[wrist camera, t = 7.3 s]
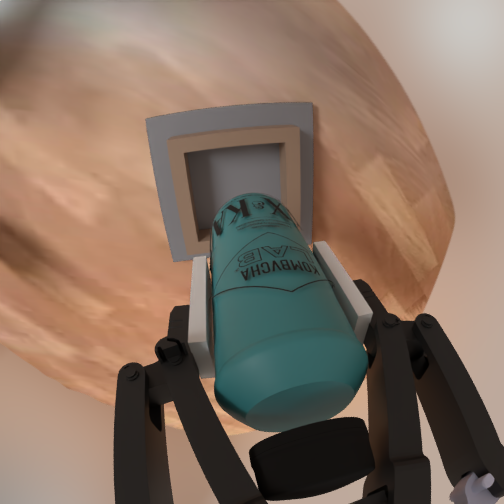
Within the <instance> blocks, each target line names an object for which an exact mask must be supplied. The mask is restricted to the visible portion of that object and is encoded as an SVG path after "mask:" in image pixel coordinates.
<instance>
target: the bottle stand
mask: <svg viewBox="0 0 504 504" xmlns="http://www.w3.org/2000/svg"><path fill="white" fill-rule="evenodd" d="M145 120H146V127H147V134H148V140H149V147H150V153H151V159H152V165H153V170H154V176H155V181H156V186H157V191H158V196H159V201H160V206H161V211H162V215H163V220H164V224H165V229H166V233H167V237H168V242H169V246H170V250H171V254H172V258H173V262H178V261H185V260H193V257H200V256H206V258H209V257H210V256H209V255H210V232H211V244H212V229H211V228H212V227H213V226H212V225H213V223H212V222H214V221H213V220H214V218H215V217H216V215H217V213H218V212H219V210H220V209H221V208H222V207H223V206H224V205H225V204H226V202H229V201H230V199H232V198H234V197H236V196H239V195H242V194H246V193H259V194H262V193H264V195H267V194H268V195H267V196H270V195H271V196H270V197H272V198H275V199H277V200H278V199H279V200H278V201H280V203H281V204H282V203H283V204H284V205H283V204H282V205H283V206H285V207H286V208H287V207H288V208H287V209H288V210H290V213H291V214H292V216H293V217H294V219H295V220H296V221H297V223H298V225H299V226H300V227H299V226H298V227H297V228H298V229H299V231H300V233H301V234H302V236H303V238H304V239H305V241H306V243H307V245H310V244H311V242H312V217H313V106H312V103H262V104H246V105H234V106H223V107H214V108H206V109H198V110H191V111H185V112H179V113H173V114H167V115H162V116H157V117H152V118H147V119H145ZM281 201H282V202H281ZM288 210H287V211H288ZM217 211H218V212H217ZM288 213H289V212H288ZM290 213H289V214H290ZM215 214H216V215H215ZM291 214H290V216H291ZM292 216H291V218H292V219H293V217H292ZM294 219H293V221H294V223H295V224H296V226H297V223H296V221H295V220H294ZM300 228H301V229H302V230H301V229H300ZM210 229H211V230H210ZM211 247H212V245H211ZM211 251H212V248H211Z"/></svg>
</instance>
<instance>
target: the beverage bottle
mask: <svg viewBox="0 0 504 504" xmlns="http://www.w3.org/2000/svg"><path fill="white" fill-rule="evenodd" d="M267 195H268V194H267ZM267 195H264V193H262V194H259V193H246V194H242V195H239V196H236V197H234V198H232V199H230V201H229V202H226V204H225V205H224V206H223V207H222V208H221V209H220V210H219V212H218V211H217V212H218V213H217V215H216V214H215V215H216V217H215V218H214V220H213V221H214V222H212V223H213V225H212V226H213V227H212V228H211V229H212V244H211V232H210V255H209V256H210V262H209V263H210V270H209V271H211V274H212V294H211V295H212V296H211V297H212V311H213V338H214V362H215V383H214V394H215V398H216V401H217V402H218V404H219V405H220V407H221V408H222V409H223V410H224V411H225V412H227V413H228V414H229V415H231V416H232V417H233V418H235V419H236V420H238V421H240V422H242V423H243V424H245V425H247V426H249V427H251V428H253V429H256V430H259V431H264V432H281V433H278V434H276V435H273V436H271V437H268V438H266V439H264V440H262V441H260V442H258V443H257V444H255V445H254V446H253V447H252V448H251V449H250V450H249V455H250V462H251V467H252V468H253V470H254V473H255V477H256V481H257V485H258V489H259V491H260V493H261V494H262V496H263V497H264V499H265V500H270V501H280V500H291V499H301V498H307V497H313V496H317V495H321V494H325V493H328V492H331V491H334V490H336V489H339V488H341V487H344V486H346V485H348V484H350V483H352V482H354V481H357V480H359V479H361V478H363V477H365V476H366V475H368V474H370V473H371V472H372V471H374V469H375V460H374V456H373V452H372V449H371V445H370V442H369V433H368V430H367V427H366V425H365V422H364V420H363V419H360V418H357V417H343V418H335V419H330V418H332V417H334V416H335V415H337V414H338V413H340V412H341V411H342V410H344V409H345V408H346V407H347V406H348V405H349V403H350V402H351V401H352V400H353V398H354V397H355V395H356V393H357V392H358V390H359V388H360V386H361V384H362V382H363V380H364V378H365V376H366V373H367V369H368V356H367V353H366V351H365V348H364V346H363V345H362V344H361V342H360V341H359V340H358V339H357V337H356V335H355V333H354V331H353V329H352V327H351V325H350V323H349V321H348V319H347V317H346V315H345V313H344V311H343V309H342V308H341V306H340V304H339V302H338V300H337V298H336V296H335V294H334V291H333V289H332V288H333V286H334V285H332V287H331V285H330V283H329V281H330V280H327V278H326V276H325V274H324V272H323V271H322V269H323V268H322V269H321V267H320V265H322V264H321V263H320V264H318V262H317V260H318V257H317V254H316V253H315V252H314V251H313V250H312V251H311V250H310V248H309V246H308V245H307V243H306V241H305V239H304V238H303V236H302V234H301V233H300V231H299V229H298V228H297V227H298V226H299V225H298V223H297V221H296V220H295V219H294V217H293V216H292V214H291V213H290V210H288V209H287V208H288V207H287V208H286V207H285V206H283V205H284V204H283V203H282V204H283V205H282V204H281V203H280V201H278V200H279V199H278V200H277V199H275V198H272V197H270V196H271V195H270V196H267ZM281 202H282V201H281ZM287 210H288V211H287ZM288 212H289V213H290V214H291V216H292V217H293V219H294V220H295V221H296V223H297V226H296V224H295V223H294V221H293V219H292V218H291V216H290V214H289V213H288ZM299 227H300V226H299ZM211 229H210V230H211ZM300 229H301V228H300ZM301 230H302V229H301ZM211 245H212V247H211ZM211 248H212V251H211ZM311 248H312V247H311ZM312 249H313V248H312ZM312 252H314V253H315V254H316V255H313V253H312ZM315 256H316V257H317V258H316V257H315ZM316 259H317V260H316ZM319 261H320V260H319ZM322 266H323V265H322ZM209 275H210V274H209ZM209 280H211V279H210V278H209ZM330 282H332V281H330ZM332 283H333V282H332ZM211 297H210V298H211ZM209 300H210V299H209ZM328 419H329V420H328Z"/></svg>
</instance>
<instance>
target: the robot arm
mask: <svg viewBox="0 0 504 504" xmlns="http://www.w3.org/2000/svg"><path fill="white" fill-rule="evenodd" d="M313 251H314V252H315V253H316V254H317V257H318V260H317V259H316V260H317V262H318V264H320V263H321V264H322V265H323V266H322V265H320V267H321V269H322V268H323V269H322V271H323V272H324V274H325V276H326V278H327V280H330V281H332V282H333V283H332V282H330V281H329V283H330V285H331V287H332V285H334V286H333V288H332V289H333V291H334V294H335V296H336V298H337V300H338V302H339V304H340V306H341V308H342V309H343V311H344V313H345V315H346V317H347V319H348V321H349V323H350V325H351V327H352V329H353V331H354V333H355V335H356V337H357V339H358V340H359V341H360V342H361V344H362V345H363V344H364V345H365V347H366V349H367V350H366V353H367V356H368V369H367V373H366V374H367V391H368V421H369V442H370V445H371V449H372V452H373V456H374V460H375V469H374V471H372V472H371V473H370V474H368V475H367V478H366V480H365V483H364V487H363V497H362V499H360V500H358V501H355V502H353V503H350V504H431V469H430V461H429V459H428V458H427V457H426V456H424V454H423V452H422V439H421V429H420V419H419V411H418V403H417V396H416V393H417V395H418V397H419V400H420V402H421V404H422V407H423V410H424V412H425V415H426V417H427V420H428V423H429V425H430V427H431V431H432V433H433V436H434V439H435V442H436V445H437V447H438V450H439V453H440V456H441V459H442V462H443V466H444V469H445V471H446V474H447V476H448V478H449V480H450V482H451V484H452V485H453V487H454V490H453V491H452V492H451V494H450V500H451V501H452V502H454V504H495V503H496V502H497V501H498V500H499V498H501V497H503V496H504V446H503V445H502V444H501V443H500V440H499V438H498V435H497V433H496V430H495V428H494V425H493V423H492V421H491V418H490V416H489V414H488V412H487V410H486V407H485V405H484V403H483V401H482V399H481V397H480V395H479V393H478V391H477V389H476V387H475V385H474V383H473V381H472V379H471V378H470V375H469V374H468V372H467V370H466V368H465V366H464V364H463V363H462V361H461V359H460V357H459V356H458V354H457V352H456V351H455V349H454V347H453V345H452V344H451V342H450V341H449V339H448V337H447V336H446V334H445V333H444V331H443V329H442V328H441V326H440V324H439V323H438V321H437V320H436V319H435V318H434V317H433V316H431V315H429V314H426V313H424V314H419V315H418V316H417V317H416V319H415V321H401V320H400V319H399V318H398V317H397V316H396V315H394V314H391V313H388V312H387V311H386V309H385V308H384V306H383V305H382V303H381V302H380V300H379V299H378V297H377V296H376V295H375V293H374V292H373V291H372V289H371V288H370V286H369V285H368V284H367V283H366V282H364V281H363V280H361V279H359V280H353V281H352V279H351V278H350V276H349V275H348V273H347V272H346V270H345V269H344V268H343V266H342V265H341V263H340V262H339V260H338V259H337V257H336V256H335V254H334V253H333V252H332V250H331V249H330V247H329V246H328V245H327V243H326V242H325V241H320V242H313ZM314 252H313V255H316V254H315V253H314ZM315 257H316V256H315ZM317 257H316V258H317ZM319 260H320V261H319ZM209 278H210V275H209V269H208V264H207V258H206V256H200V257H193V268H192V281H191V295H190V305H183V306H175V307H174V308H173V310H172V311H171V313H170V319H169V329H168V335H167V337H164V338H162V339H160V340H159V341H158V342H157V344H156V346H155V353H156V356H157V357H158V359H159V361H157V362H155V363H153V364H150V365H147V366H144V367H143V366H142V365H141V364H139V363H133V362H132V363H128V364H126V365H124V366H123V367H122V368H121V369H120V370H119V373H118V380H117V390H116V403H115V420H114V489H115V504H174V503H173V496H172V489H171V482H170V474H169V466H168V456H167V446H166V435H165V419H164V404H165V403H168V402H171V401H173V402H174V404H175V407H176V410H177V412H178V415H179V417H180V420H181V423H182V425H183V428H184V430H185V432H186V435H187V437H188V439H189V442H190V444H191V446H192V449H193V451H194V453H195V456H196V458H197V460H198V462H199V464H200V466H201V468H202V470H203V473H204V475H205V477H206V479H207V481H208V483H209V485H210V487H211V488H212V491H213V493H214V494H215V496H216V498H217V500H218V502H219V504H268V503H267V502H266V500H265V499H264V497H263V496H262V494H261V493H260V491H259V490H258V488H257V487H256V485H255V483H254V482H253V480H252V478H251V477H250V475H249V474H248V472H247V470H246V469H245V467H244V465H243V463H242V462H241V460H240V458H239V456H238V454H237V453H236V451H235V449H234V447H233V445H232V444H231V442H230V440H229V438H228V436H227V434H226V432H225V430H224V429H223V427H222V425H221V423H220V421H219V419H218V417H217V415H216V413H215V411H214V409H213V407H212V405H211V403H210V401H209V398H208V396H207V394H206V392H205V390H204V388H203V386H202V383H201V381H200V379H199V374H200V377H201V379H202V378H213V377H215V362H214V338H213V311H212V297H211V296H212V295H211V294H212V285H211V280H209ZM210 297H211V298H210ZM209 299H210V300H209Z"/></svg>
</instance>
